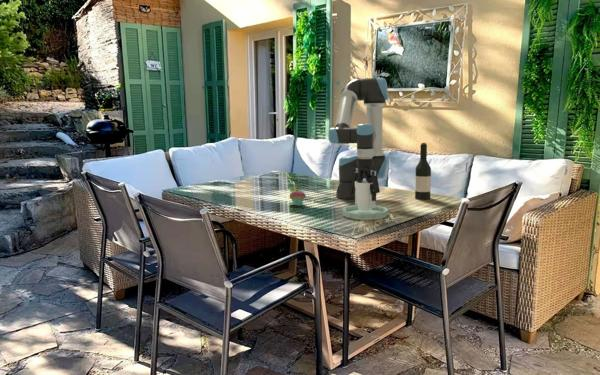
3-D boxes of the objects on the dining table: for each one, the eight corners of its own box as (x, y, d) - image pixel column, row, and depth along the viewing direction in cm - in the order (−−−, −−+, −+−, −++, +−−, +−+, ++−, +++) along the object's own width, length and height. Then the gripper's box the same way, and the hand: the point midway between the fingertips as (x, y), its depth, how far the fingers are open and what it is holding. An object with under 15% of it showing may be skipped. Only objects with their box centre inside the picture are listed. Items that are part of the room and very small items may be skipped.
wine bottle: (427, 200, 238) (429, 143, 233) (412, 199, 243) (413, 143, 238) (432, 197, 245) (433, 142, 240) (417, 196, 250) (418, 142, 245)
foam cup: (374, 211, 203) (374, 183, 201) (354, 211, 205) (354, 183, 203) (375, 207, 213) (375, 180, 210) (355, 206, 214) (355, 180, 212)
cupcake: (294, 206, 231) (293, 183, 229) (286, 203, 238) (286, 181, 236) (308, 204, 234) (308, 182, 232) (301, 201, 242) (300, 180, 240)
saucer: (335, 217, 206) (335, 211, 206) (353, 208, 223) (353, 203, 223) (377, 221, 196) (377, 216, 195) (393, 212, 213) (393, 207, 212)
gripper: (343, 156, 212) (343, 203, 216) (375, 160, 194) (375, 211, 198) (355, 155, 216) (355, 201, 220) (388, 159, 198) (387, 208, 202)
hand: (365, 205), depth 209 cm, fingers closed on foam cup, 9 cm apart
